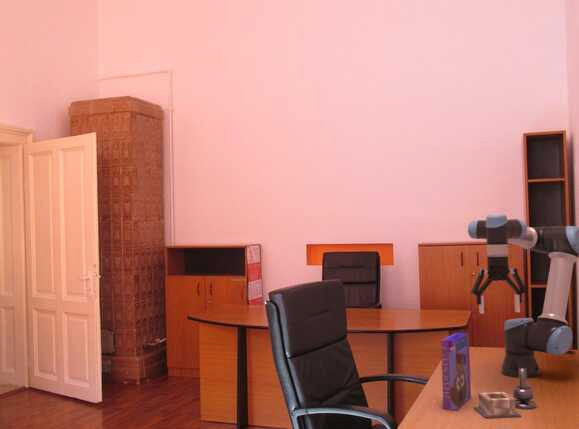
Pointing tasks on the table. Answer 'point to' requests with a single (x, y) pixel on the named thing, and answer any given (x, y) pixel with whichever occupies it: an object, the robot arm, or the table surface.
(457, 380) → the cereal box
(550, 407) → the table surface
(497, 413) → the square frame
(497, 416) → the rubber mat
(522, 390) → the steel stand
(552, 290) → the robot arm
